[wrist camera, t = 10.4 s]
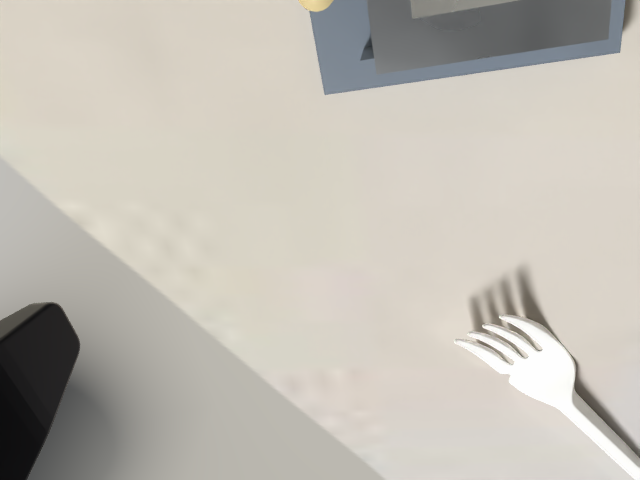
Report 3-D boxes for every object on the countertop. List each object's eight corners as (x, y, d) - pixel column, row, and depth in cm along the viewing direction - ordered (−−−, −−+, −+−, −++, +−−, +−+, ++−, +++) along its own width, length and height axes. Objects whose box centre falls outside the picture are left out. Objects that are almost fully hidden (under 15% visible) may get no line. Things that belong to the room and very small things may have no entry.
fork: (664, 526, 30) (678, 561, 28) (441, 315, 24) (443, 346, 22) (726, 509, 28) (744, 546, 27) (505, 279, 22) (512, 310, 20)
